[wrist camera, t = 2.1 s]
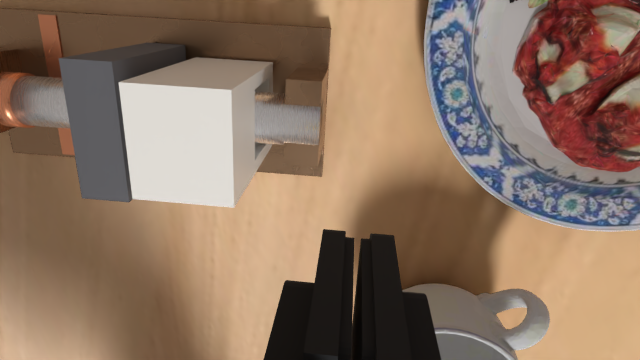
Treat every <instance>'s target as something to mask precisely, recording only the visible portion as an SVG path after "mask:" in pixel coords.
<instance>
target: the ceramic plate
mask: <svg viewBox="0 0 640 360" xmlns="http://www.w3.org/2000/svg"><path fill="white" fill-rule="evenodd" d="M424 66H425V75H426V83H427V88H428V93H429V97H430V102H431V105H432V108H433V111H434V115H435V118H436V121H437V123H438V126H439V128H440V130H441V132H442V135H443V137H444V139H445V141H446V142H447V144H448V146H449V147H450V149H451V151H452V153H453V154H454V156H455V157H456V158H457V160H458V161H459V162H460V164H461V165H462V166H463V168H464V169H465V170H466V171H467V172H468V173H469V174H470V175H471V176H472V177H473V178H474V179H475V180H476V181H477V182H478V183H479V184H480V185H481V186H482V187H483V188H484V189H485V190H486V191H488V192H489V193H490V194H491V195H493V196H494V197H496V198H497V199H499V200H500V201H501V202H503V203H505V204H506V205H508V206H510V207H512V208H514V209H516V210H518V211H519V212H521V213H523V214H525V215H528V216H530V217H533V218H535V219H538V220H541V221H544V222H547V223H550V224H554V225H559V226H563V227H568V228H573V229H579V230H588V231H609V232H610V231H635V230H640V0H429V2H428V7H427V16H426V25H425V35H424Z"/></svg>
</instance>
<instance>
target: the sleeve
mask: <svg viewBox="0 0 640 360" xmlns="http://www.w3.org/2000/svg"><path fill="white" fill-rule="evenodd" d="M118 83H119V91H120V99H121V108H122V116H123V124H124V133H125V141H126V149H127V158H128V166H129V174H130V183H131V191H132V199H138V200H150V201H162V202H174V203H186V204H197V205H209V206H221V207H233V208H234V207H235V205H236V204H237V202H238V201H239V199H240V197H241V196H242V194H243V192H244V191H245V189H246V188H247V186H248V184H249V183H250V181H251V179H252V178H253V176H254V175H255V173H256V171H257V170H258V168H259V166H260V165H261V163H262V162H263V160H264V158H265V157H266V155H267V153H268V152H269V150H270V149H271V147H272V144H267V143H255V91H257V92H272V93H273V62H261V61H245V60H230V59H215V58H199V57H195V58H192V59H189V60H186V61H183V62H180V63H177V64H174V65H170V66H167V67H164V68H161V69H158V70H155V71H152V72H149V73H146V74H142V75H139V76H136V77H133V78H130V79H127V80H124V81H121V82H118Z"/></svg>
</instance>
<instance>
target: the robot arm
mask: <svg viewBox="0 0 640 360" xmlns="http://www.w3.org/2000/svg"><path fill="white" fill-rule="evenodd" d="M345 234H346V231H337V230H325V229H323V234H322V241H321V247H320V253H319V259H318V265H317V272H316V278H315V283H309V282H299V281H288V280H286V281H285V283H284V286H283V290H282V293H281V297H280V301H279V305H278V308H277V312H276V316H275V319H274V323H273V327H272V331H271V334H270V338H269V342H268V346H267V349H266V353H265V357H264V360H441V356H440V351H439V347H438V343H437V338H436V334H435V329H434V325H433V321H432V316H431V312H430V307H429V303H428V299H427V296H426V294H425V293H415V292H404V291H402V288H401V281H400V274H399V267H398V260H397V254H396V247H395V240H394V236H393V235H383V234H370V239H361V245H360V255H359V265H358V274H357V284H356V294H355V304H354V314H353V324H352V309H353V268H354V238H348V237H345Z"/></svg>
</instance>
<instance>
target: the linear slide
mask: <svg viewBox="0 0 640 360" xmlns="http://www.w3.org/2000/svg"><path fill="white" fill-rule="evenodd" d="M330 36H331V28H319V27H303V26H286V25H270V24H253V23H236V22H220V21H203V20H186V19H170V18H153V17H137V16H120V15H103V14H87V13H70V12H53V11H37V10H20V9H4V8H0V133H1V132H4V131H7V130H8V131H9V135H10V140H11V144H12V149H13V152H16V153H29V154H41V155H54V156H66V157H75V153H74V147H73V141H72V135H71V129H70V123H69V117H68V112H67V106H66V100H65V94H64V88H63V82H62V76H61V70H60V64H59V58H63V57H69V56H74V55H80V54H86V53H91V52H97V51H102V50H108V49H114V48H119V47H125V46H131V45H136V44H142V43H162V44H178V45H185V50H186V60H189V59H192V58H195V57H199V58H215V59H230V60H245V61H261V62H273V93H272V92H257V91H255V143H267V144H272V147H271V149H270V150H269V152H268V153H267V155H266V157H265V158H264V160H263V162H262V163H261V165H260V166H259V168H258V170H257V171H256V172H268V173H280V174H293V175H305V176H318V177H322V172H323V155H324V138H325V121H326V104H327V87H328V70H329V53H330Z"/></svg>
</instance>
